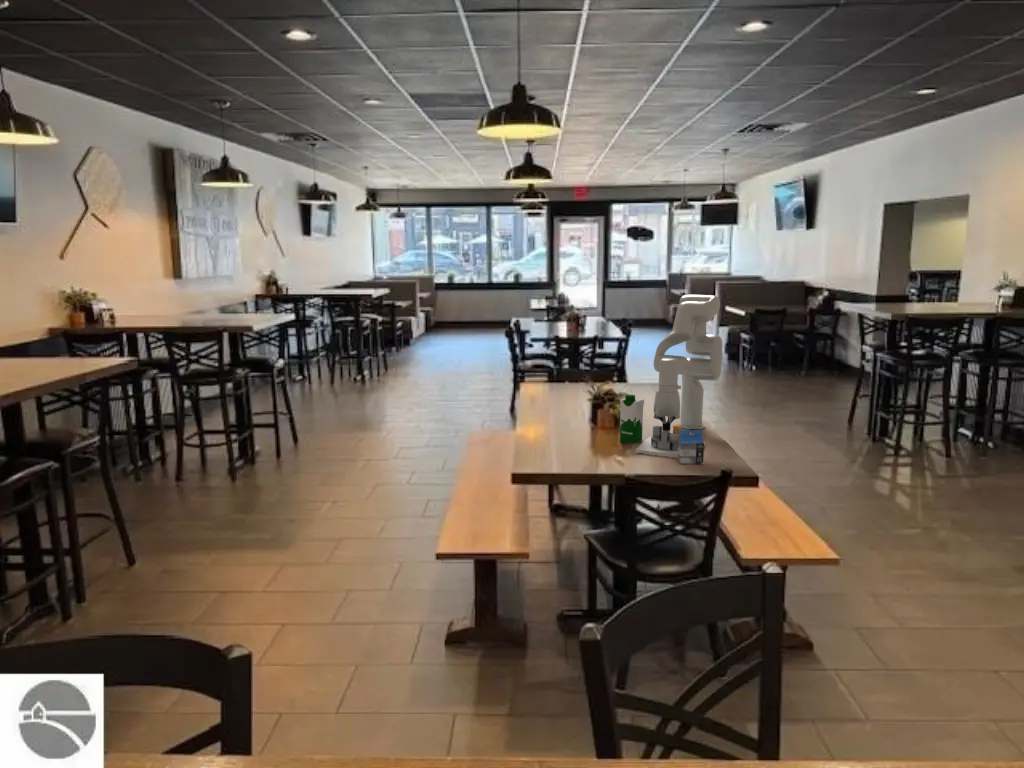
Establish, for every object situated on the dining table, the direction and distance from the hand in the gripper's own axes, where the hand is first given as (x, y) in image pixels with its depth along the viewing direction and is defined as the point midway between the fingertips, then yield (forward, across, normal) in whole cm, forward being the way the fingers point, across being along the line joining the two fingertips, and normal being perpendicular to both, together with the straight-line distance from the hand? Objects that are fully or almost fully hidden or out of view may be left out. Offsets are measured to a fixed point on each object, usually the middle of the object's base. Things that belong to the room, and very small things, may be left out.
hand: (666, 432), depth 301 cm
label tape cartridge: (+6, -3, +25) cm, 26 cm away
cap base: (+6, -1, +6) cm, 8 cm away
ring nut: (+4, -1, +6) cm, 7 cm away
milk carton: (+6, +13, -8) cm, 16 cm away
